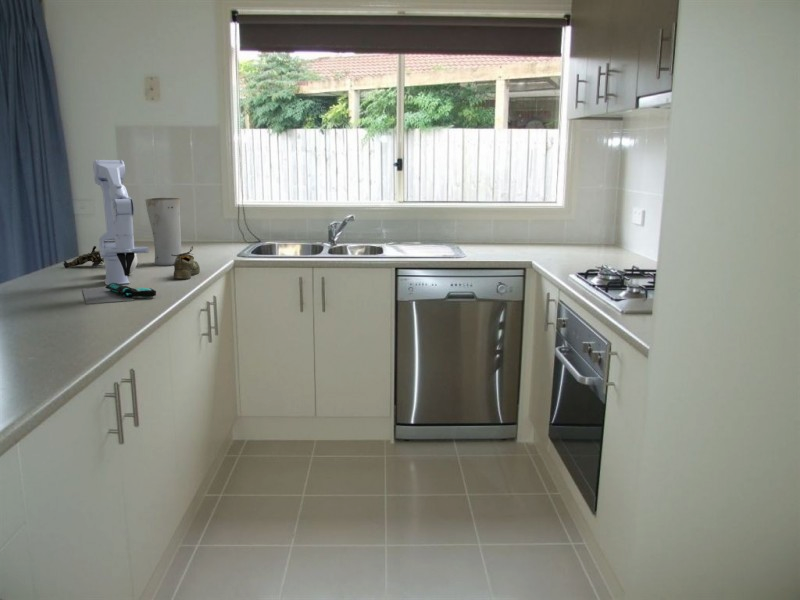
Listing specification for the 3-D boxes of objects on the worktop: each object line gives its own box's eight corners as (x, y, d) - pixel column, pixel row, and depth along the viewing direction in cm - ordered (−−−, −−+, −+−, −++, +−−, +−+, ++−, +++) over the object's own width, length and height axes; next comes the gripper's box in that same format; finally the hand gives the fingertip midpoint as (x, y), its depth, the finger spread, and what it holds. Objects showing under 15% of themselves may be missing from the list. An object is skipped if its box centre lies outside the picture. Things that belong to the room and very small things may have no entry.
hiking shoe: (202, 271, 273) (201, 242, 270) (190, 280, 253) (188, 249, 251) (181, 271, 272) (179, 242, 270) (167, 280, 253) (165, 249, 250)
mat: (82, 290, 231) (82, 289, 231) (126, 287, 238) (125, 286, 238) (86, 304, 211) (86, 303, 211) (134, 300, 217) (133, 299, 217)
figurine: (63, 255, 279) (107, 241, 283) (71, 274, 281) (114, 259, 285) (59, 258, 269) (104, 243, 274) (68, 277, 271) (112, 261, 276)
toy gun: (133, 280, 236) (104, 282, 229) (157, 288, 221) (127, 291, 215) (133, 288, 236) (104, 291, 229) (158, 297, 222) (127, 300, 215)
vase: (152, 262, 293) (146, 198, 287) (185, 260, 297) (179, 197, 291) (150, 267, 281) (144, 200, 275) (185, 265, 285) (179, 199, 279)
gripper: (101, 237, 216) (104, 278, 219) (149, 235, 223) (151, 275, 226) (99, 234, 222) (102, 275, 225) (146, 233, 229) (148, 272, 232)
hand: (127, 275), depth 226 cm, fingers closed
